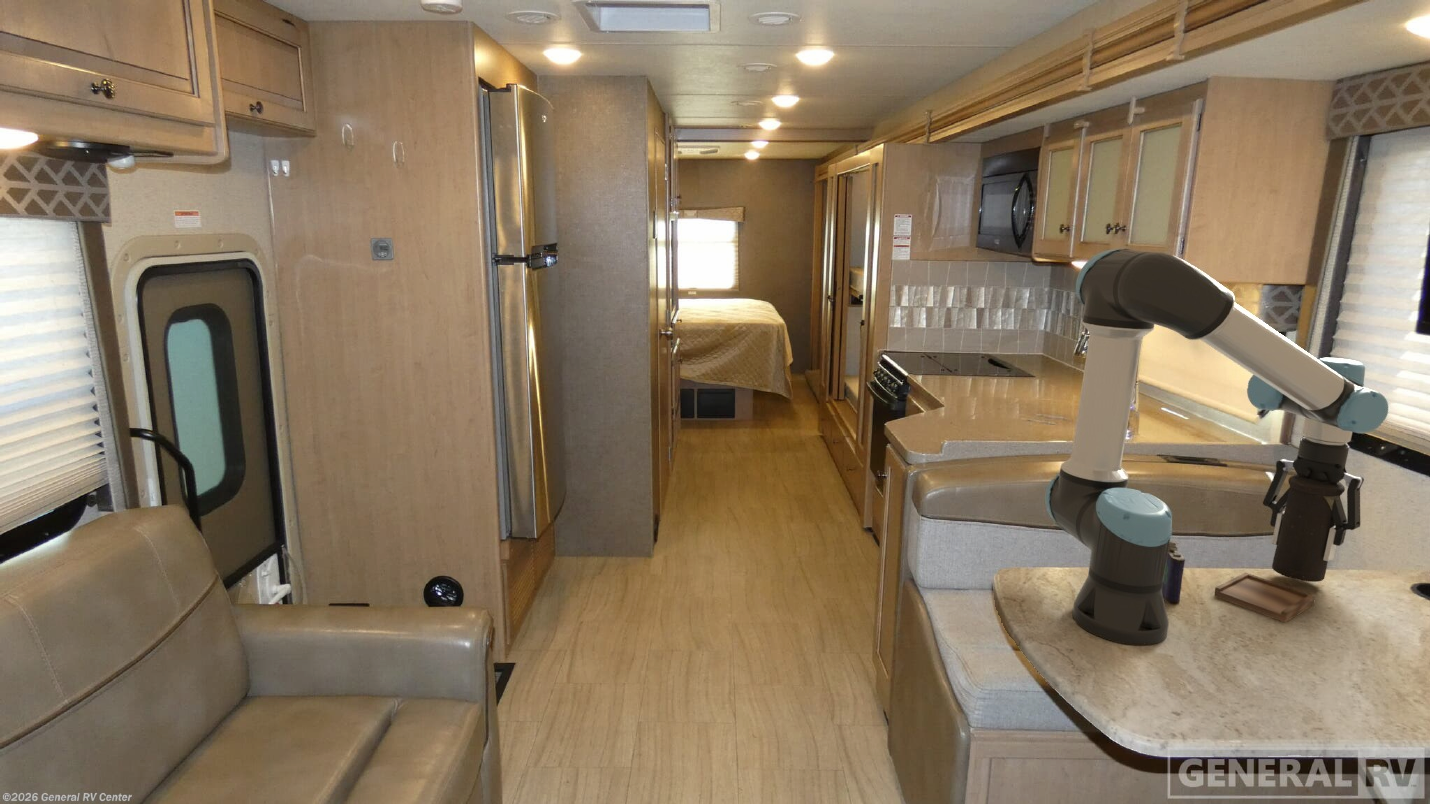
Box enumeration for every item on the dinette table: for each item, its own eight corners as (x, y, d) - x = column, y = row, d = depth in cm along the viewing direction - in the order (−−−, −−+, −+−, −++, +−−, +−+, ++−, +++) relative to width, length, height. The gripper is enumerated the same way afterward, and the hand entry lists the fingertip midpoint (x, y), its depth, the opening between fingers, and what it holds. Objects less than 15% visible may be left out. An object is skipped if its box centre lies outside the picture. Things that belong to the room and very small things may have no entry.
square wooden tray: (1284, 622, 144) (1286, 613, 144) (1214, 595, 154) (1215, 587, 153) (1313, 605, 150) (1315, 596, 150) (1244, 580, 160) (1245, 572, 160)
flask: (1146, 582, 159) (1153, 531, 157) (1161, 583, 159) (1169, 532, 156) (1167, 604, 150) (1176, 551, 148) (1184, 605, 150) (1192, 552, 148)
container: (1334, 585, 154) (1356, 486, 150) (1282, 580, 156) (1302, 482, 151) (1311, 566, 162) (1331, 472, 158) (1262, 562, 164) (1280, 468, 160)
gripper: (1401, 451, 146) (1374, 566, 152) (1272, 424, 163) (1252, 529, 169) (1385, 457, 142) (1358, 575, 148) (1255, 429, 159) (1235, 536, 165)
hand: (1302, 550), depth 158 cm, fingers closed on container, 8 cm apart
